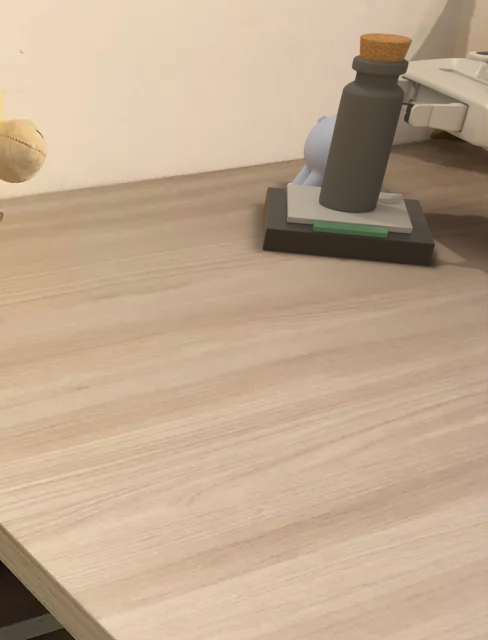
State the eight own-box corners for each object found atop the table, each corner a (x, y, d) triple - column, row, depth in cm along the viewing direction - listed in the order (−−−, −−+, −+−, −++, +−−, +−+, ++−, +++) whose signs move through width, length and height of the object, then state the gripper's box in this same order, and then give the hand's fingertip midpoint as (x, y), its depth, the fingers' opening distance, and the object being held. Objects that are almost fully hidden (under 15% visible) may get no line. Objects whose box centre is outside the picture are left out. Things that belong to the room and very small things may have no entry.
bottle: (342, 215, 104) (382, 43, 94) (306, 198, 108) (341, 33, 98) (388, 209, 105) (432, 41, 96) (351, 194, 110) (390, 30, 100)
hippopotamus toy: (369, 179, 125) (391, 92, 119) (394, 217, 114) (419, 122, 108) (280, 174, 126) (297, 87, 120) (295, 211, 114) (314, 116, 108)
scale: (412, 223, 112) (420, 194, 110) (427, 269, 101) (437, 237, 99) (263, 209, 114) (268, 181, 113) (261, 253, 103) (267, 221, 101)
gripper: (565, 164, 96) (427, 166, 94) (455, 114, 112) (335, 115, 110) (591, 89, 92) (449, 89, 90) (474, 48, 108) (350, 47, 106)
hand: (386, 103), depth 100 cm, fingers open, 8 cm apart
